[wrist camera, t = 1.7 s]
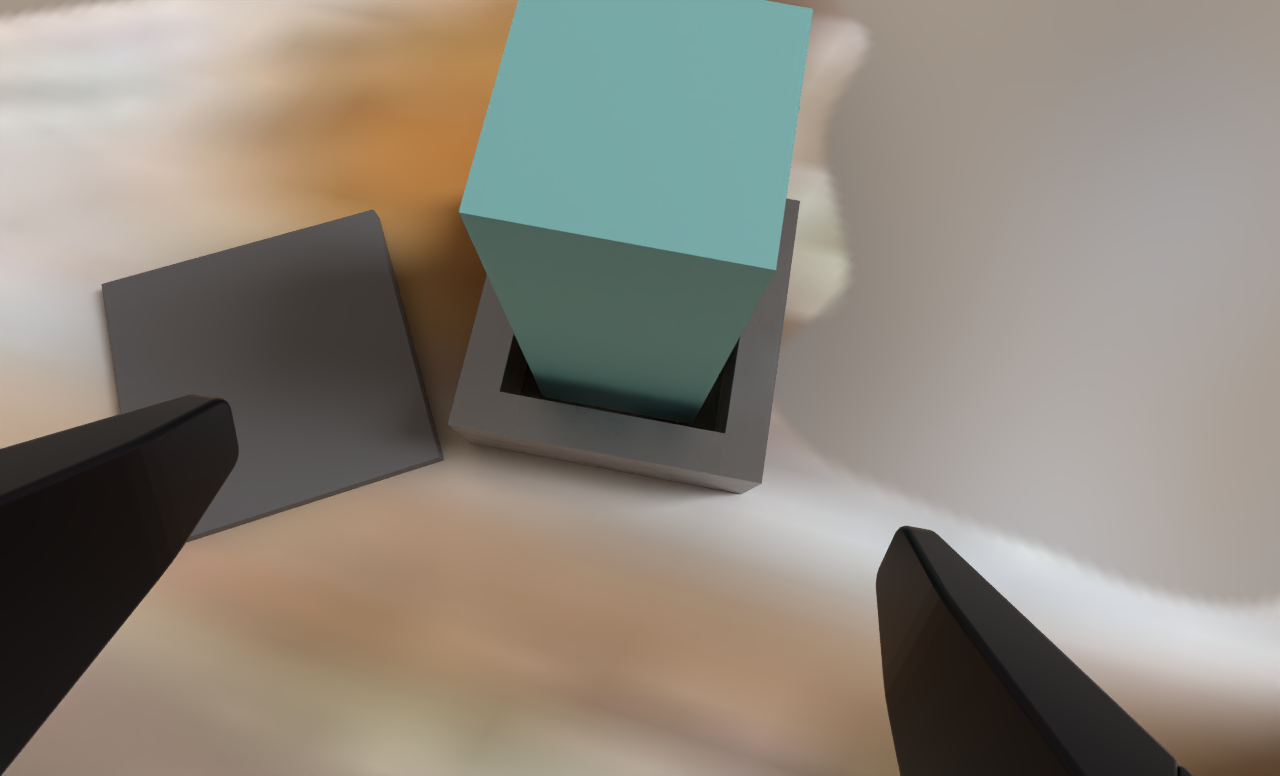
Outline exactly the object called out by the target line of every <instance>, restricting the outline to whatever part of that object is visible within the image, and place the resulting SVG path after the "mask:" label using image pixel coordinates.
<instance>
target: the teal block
mask: <svg viewBox="0 0 1280 776" xmlns="http://www.w3.org/2000/svg"><path fill="white" fill-rule="evenodd" d="M812 13H813V9H810V8H805V7H799V6H793V5H788V4H782V3H776V2H771V1H765V0H518V4H517V7H516V11H515V14H514V18H513V21H512V25H511V28H510V32H509V35H508V39H507V43H506V46H505V50H504V53H503V57H502V60H501V64H500V67H499V71H498V74H497V78H496V82H495V85H494V89H493V92H492V96H491V99H490V103H489V106H488V110H487V113H486V117H485V120H484V124H483V128H482V131H481V135H480V138H479V142H478V145H477V149H476V152H475V156H474V159H473V163H472V166H471V170H470V174H469V177H468V181H467V184H466V188H465V191H464V195H463V198H462V202H461V205H460V209H459V214H460V216H461V219H462V221H463V223H464V225H465V227H466V230H467V232H468V234H469V236H470V238H471V241H472V243H473V245H474V247H475V249H476V251H477V254H478V256H479V258H480V260H481V262H482V265H483V267H484V269H485V271H486V273H487V276H488V278H489V280H490V282H491V284H492V286H493V289H494V291H495V293H496V295H497V297H498V300H499V302H500V304H501V306H502V308H503V311H504V313H505V315H506V317H507V319H508V321H509V324H510V326H511V328H512V330H513V332H514V335H515V337H516V339H517V341H518V343H519V345H520V348H521V350H522V352H523V354H524V356H525V359H526V361H527V363H528V365H529V367H530V370H531V372H532V374H533V376H534V378H535V380H536V383H537V385H538V387H539V389H540V391H541V394H542V396H543V397H547V398H553V399H558V400H563V401H569V402H574V403H579V404H585V405H590V406H596V407H601V408H606V409H612V410H617V411H622V412H628V413H633V414H638V415H644V416H649V417H655V418H660V419H665V420H671V421H676V422H681V423H687V424H692V423H693V421H694V420H695V418H696V416H697V414H698V412H699V410H700V409H701V407H702V405H703V403H704V401H705V399H706V398H707V396H708V394H709V392H710V390H711V388H712V387H713V385H714V383H715V381H716V379H717V377H718V376H719V374H720V372H721V370H722V368H723V366H724V365H725V363H726V361H727V359H728V357H729V355H730V354H731V352H732V350H733V348H734V346H735V344H736V343H737V341H738V339H739V337H740V335H741V333H742V332H743V330H744V328H745V326H746V324H747V322H748V321H749V319H750V317H751V315H752V313H753V311H754V310H755V308H756V306H757V304H758V302H759V300H760V299H761V297H762V295H763V293H764V291H765V289H766V288H767V286H768V284H769V282H770V280H771V278H772V277H773V275H774V273H775V271H776V267H777V260H778V253H779V245H780V238H781V231H782V224H783V217H784V210H785V203H786V196H787V189H788V182H789V175H790V168H791V161H792V154H793V147H794V140H795V133H796V126H797V118H798V111H799V104H800V97H801V90H802V83H803V76H804V69H805V62H806V55H807V48H808V41H809V34H810V27H811V20H812Z"/></svg>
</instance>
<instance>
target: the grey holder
mask: <svg viewBox="0 0 1280 776" xmlns="http://www.w3.org/2000/svg"><path fill="white" fill-rule="evenodd" d="M799 204H800V201H797V200H791V199H786V203H785V210H784V217H783V224H782V231H781V238H780V245H779V253H778V260H777V267H776V271H775V273H774V275H773V277H772V278H771V280H770V282H769V284H768V286H767V288H766V289H765V291H764V293H763V295H762V297H761V299H760V300H759V302H758V304H757V306H756V308H755V310H754V311H753V313H752V315H751V317H750V319H749V321H748V322H747V324H746V326H745V328H744V330H743V332H742V333H741V335H740V337H739V339H738V341H737V343H736V344H735V346H734V348H733V350H732V352H731V354H730V355H729V357H728V359H727V361H726V363H725V365H724V371H723V377H722V384H721V390H720V396H719V403H718V409H717V415H716V422H715V428H714V431H709V430H703V429H698V428H692V427H687V426H682V425H676V424H671V423H665V422H660V421H655V420H649V419H644V418H639V417H633V416H628V415H622V414H617V413H612V412H606V411H601V410H596V409H590V408H585V407H579V406H574V405H569V404H563V403H558V402H553V401H547V400H542V399H536V398H531V397H526V396H520V393H521V388H522V384H523V380H524V376H525V371H526V367H527V361H526V359H525V356H524V354H523V352H522V350H521V348H520V345H519V343H518V341H517V339H516V337H515V335H514V332H513V330H512V328H511V326H510V324H509V321H508V319H507V317H506V315H505V313H504V311H503V308H502V306H501V304H500V302H499V300H498V297H497V295H496V293H495V291H494V289H493V286H492V284H491V282H490V280H489V278H488V276H487V275H486V279H485V283H484V287H483V291H482V294H481V298H480V302H479V306H478V310H477V313H476V317H475V321H474V325H473V329H472V332H471V336H470V340H469V344H468V348H467V351H466V355H465V359H464V363H463V367H462V370H461V374H460V378H459V382H458V386H457V389H456V393H455V397H454V401H453V405H452V408H451V412H450V416H449V420H448V424H447V425H448V426H450V427H451V428H452V429H453V430H455V431H456V432H457V433H458V434H460V435H461V436H462V437H463V438H465V439H466V440H467V441H469V442H470V443H473V444H478V445H484V446H489V447H494V448H500V449H505V450H510V451H516V452H521V453H526V454H532V455H537V456H542V457H548V458H553V459H558V460H564V461H569V462H574V463H580V464H585V465H590V466H596V467H601V468H606V469H612V470H617V471H622V472H628V473H633V474H638V475H644V476H649V477H654V478H660V479H665V480H670V481H676V482H681V483H686V484H692V485H697V486H702V487H708V488H713V489H718V490H724V491H729V492H734V493H740V494H743V493H745V492H747V491H748V490H750V489H752V488H754V487H756V486H758V485H760V484H761V483H762V476H763V469H764V462H765V454H766V447H767V439H768V432H769V425H770V417H771V410H772V403H773V395H774V388H775V381H776V373H777V366H778V358H779V351H780V344H781V336H782V329H783V322H784V314H785V307H786V299H787V292H788V285H789V277H790V270H791V263H792V255H793V248H794V241H795V233H796V226H797V218H798V211H799Z"/></svg>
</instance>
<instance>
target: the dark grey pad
mask: <svg viewBox="0 0 1280 776" xmlns="http://www.w3.org/2000/svg"><path fill="white" fill-rule="evenodd" d="M102 291H103V297H104V304H105V311H106V317H107V324H108V331H109V337H110V344H111V350H112V357H113V364H114V370H115V377H116V384H117V390H118V397H119V404H120V410H121V414H122V413H126V412H129V411H133V410H136V409H140V408H143V407H146V406H150V405H153V404H157V403H160V402H164V401H167V400H171V399H174V398H177V397H181V396H184V395H188V394H195V393H197V394H203V395H209V396H214V397H219V398H223V399H224V400H226V401H227V402H228V403H229V405H230V407H231V410H232V415H233V420H234V425H235V430H236V435H237V440H238V445H239V456H238V460H237V463H236V465H235V467H234V469H233V470H232V472H231V473H230V475H229V476H228V478H227V480H226V481H225V483H224V484H223V486H222V487H221V489H220V490H219V492H218V493H217V495H216V497H215V498H214V500H213V501H212V503H211V504H210V506H209V507H208V509H207V510H206V512H205V514H204V515H203V517H202V518H201V520H200V521H199V523H198V524H197V526H196V527H195V529H194V531H193V532H192V534H191V535H190V537H189V538H188V540H187V541H186V542H189V541H192V540H195V539H198V538H202V537H205V536H208V535H211V534H214V533H217V532H220V531H223V530H227V529H230V528H233V527H236V526H239V525H242V524H245V523H248V522H252V521H255V520H258V519H261V518H264V517H267V516H270V515H273V514H277V513H280V512H283V511H286V510H289V509H292V508H295V507H299V506H302V505H305V504H308V503H311V502H314V501H317V500H320V499H324V498H327V497H330V496H333V495H336V494H339V493H342V492H345V491H349V490H352V489H355V488H358V487H361V486H364V485H367V484H370V483H374V482H377V481H380V480H383V479H386V478H389V477H392V476H395V475H399V474H402V473H405V472H408V471H411V470H414V469H417V468H420V467H424V466H427V465H430V464H433V463H436V462H439V461H442V460H444V459H443V455H442V452H441V448H440V444H439V440H438V437H437V433H436V429H435V425H434V422H433V418H432V414H431V410H430V407H429V403H428V399H427V395H426V391H425V388H424V384H423V380H422V376H421V373H420V369H419V365H418V361H417V358H416V354H415V350H414V346H413V343H412V339H411V335H410V331H409V328H408V324H407V320H406V316H405V313H404V309H403V305H402V301H401V297H400V294H399V290H398V286H397V282H396V279H395V275H394V271H393V267H392V264H391V260H390V256H389V252H388V249H387V245H386V241H385V237H384V234H383V230H382V226H381V222H380V219H379V217H378V215H377V214H376V213H375V211H374V210H370V211H366V212H362V213H359V214H355V215H352V216H348V217H344V218H341V219H337V220H333V221H330V222H326V223H322V224H319V225H315V226H312V227H308V228H304V229H301V230H297V231H293V232H290V233H286V234H282V235H279V236H275V237H271V238H268V239H264V240H261V241H257V242H253V243H250V244H246V245H242V246H239V247H235V248H231V249H228V250H224V251H221V252H217V253H213V254H210V255H206V256H202V257H199V258H195V259H191V260H188V261H184V262H181V263H177V264H173V265H170V266H166V267H162V268H159V269H155V270H151V271H148V272H144V273H141V274H137V275H133V276H130V277H126V278H122V279H119V280H115V281H111V282H108V283H104V284H102Z"/></svg>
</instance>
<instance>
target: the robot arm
mask: <svg viewBox="0 0 1280 776" xmlns="http://www.w3.org/2000/svg"><path fill="white" fill-rule="evenodd" d="M238 456H239V445H238V440H237V435H236V430H235V425H234V420H233V415H232V410H231V407H230V405H229V403H228V402H227V401H226V400H224V399H223V398H219V397H214V396H209V395H203V394H197V393H195V394H188V395H184V396H181V397H177V398H174V399H171V400H167V401H164V402H160V403H157V404H153V405H150V406H146V407H143V408H140V409H136V410H133V411H129V412H126V413H122V414H119V415H116V416H112V417H109V418H105V419H102V420H98V421H95V422H92V423H88V424H85V425H81V426H78V427H74V428H71V429H67V430H64V431H61V432H57V433H54V434H50V435H47V436H43V437H40V438H37V439H33V440H30V441H26V442H23V443H19V444H16V445H13V446H9V447H6V448H2V449H0V776H1V775H2V774H3V773H4V772H5V771H6V769H7V768H8V767H9V766H10V764H11V763H12V762H13V761H14V759H15V758H16V757H17V756H18V754H19V753H20V752H21V751H22V749H23V748H24V747H25V746H26V744H27V743H28V742H29V741H30V739H31V738H32V737H33V736H34V734H35V733H36V732H37V731H38V729H39V728H40V727H41V726H42V724H43V723H44V722H45V721H46V719H47V718H48V717H49V716H50V714H51V713H52V712H53V711H54V709H55V708H56V707H57V706H58V704H59V703H60V702H61V701H62V700H63V698H64V697H65V696H66V695H67V693H68V692H69V691H70V690H71V688H72V687H73V686H74V685H75V683H76V682H77V681H78V680H79V678H80V677H81V676H82V675H83V673H84V672H85V671H86V670H87V668H88V667H89V666H90V665H91V663H92V662H93V661H94V660H95V658H96V657H97V656H98V655H99V653H100V652H101V651H102V650H103V648H104V647H105V646H106V645H107V643H108V642H109V641H110V640H111V638H112V637H113V636H114V635H115V633H116V632H117V631H118V630H119V628H120V627H121V626H122V625H123V624H124V622H125V621H126V620H127V619H128V617H129V616H130V615H131V614H132V612H133V611H134V610H135V609H136V607H137V606H138V605H139V604H140V602H141V601H142V600H143V599H144V597H145V596H146V595H147V594H148V592H149V591H150V590H151V589H152V587H153V586H154V585H155V584H156V582H157V581H158V580H159V579H160V577H161V576H162V575H163V574H164V572H165V571H166V570H167V568H168V567H169V566H170V564H171V563H172V562H173V560H174V559H175V557H176V556H177V555H178V553H179V552H180V550H181V549H182V547H183V546H184V544H185V543H186V541H187V540H188V538H189V537H190V535H191V534H192V532H193V531H194V529H195V527H196V526H197V524H198V523H199V521H200V520H201V518H202V517H203V515H204V514H205V512H206V510H207V509H208V507H209V506H210V504H211V503H212V501H213V500H214V498H215V497H216V495H217V493H218V492H219V490H220V489H221V487H222V486H223V484H224V483H225V481H226V480H227V478H228V476H229V475H230V473H231V472H232V470H233V469H234V467H235V465H236V463H237V460H238ZM876 594H877V607H878V619H879V631H880V644H881V656H882V669H883V680H884V689H885V698H886V703H887V709H888V715H889V720H890V725H891V730H892V736H893V741H894V746H895V751H896V756H897V761H898V766H899V771H900V776H1194V775H1193V774H1192V773H1191V772H1190V771H1188V770H1187V769H1186V768H1185V767H1183V766H1178V764H1177V760H1176V759H1175V758H1174V757H1173V756H1172V755H1171V754H1170V753H1169V752H1168V751H1167V750H1166V749H1165V748H1164V747H1163V746H1162V745H1161V744H1160V743H1158V742H1157V741H1156V740H1155V739H1154V738H1153V737H1152V736H1151V735H1150V734H1149V733H1148V732H1147V731H1146V730H1145V729H1144V728H1143V727H1141V726H1140V725H1139V724H1138V723H1137V722H1136V721H1135V720H1134V719H1133V718H1132V717H1131V716H1130V715H1129V714H1128V713H1127V712H1126V711H1124V710H1123V709H1122V708H1121V707H1120V706H1119V705H1118V704H1117V703H1116V702H1115V701H1114V700H1113V699H1112V698H1111V697H1110V696H1109V695H1108V694H1106V693H1105V692H1104V691H1103V690H1102V689H1101V688H1100V687H1099V686H1098V685H1097V684H1096V683H1095V682H1094V681H1093V680H1092V679H1091V678H1089V677H1088V676H1087V675H1086V674H1085V673H1084V672H1083V671H1082V670H1081V669H1080V668H1079V667H1078V666H1077V665H1076V664H1075V663H1074V662H1072V661H1071V660H1070V659H1069V658H1068V657H1067V656H1066V655H1065V654H1064V653H1063V652H1062V651H1061V650H1060V649H1059V648H1058V647H1057V646H1055V645H1054V644H1053V643H1052V642H1051V641H1050V640H1049V639H1048V638H1047V637H1046V636H1045V635H1044V634H1043V633H1042V632H1041V631H1040V630H1038V629H1037V628H1036V627H1035V626H1034V625H1033V624H1032V623H1031V622H1030V621H1029V620H1028V619H1027V618H1026V617H1025V616H1024V615H1023V614H1021V613H1020V612H1019V611H1018V610H1017V609H1016V608H1015V607H1014V606H1013V605H1012V604H1011V603H1010V602H1009V601H1008V600H1007V599H1006V598H1004V597H1003V596H1002V595H1001V594H1000V593H999V592H998V591H997V590H996V589H995V588H994V587H993V586H992V585H991V584H990V583H989V582H988V581H986V580H985V579H984V578H983V577H982V576H981V575H980V574H979V573H978V572H977V571H976V570H975V569H974V568H973V567H972V566H971V565H969V564H968V563H967V562H966V561H965V560H964V559H963V558H962V557H961V556H960V555H959V554H958V553H957V552H956V551H955V550H954V549H952V548H951V547H950V546H949V545H948V544H947V543H946V542H945V541H944V540H943V539H942V538H941V537H940V536H939V535H937V534H936V533H935V532H933V531H931V530H927V529H922V528H916V527H911V526H903V527H900V528H899V529H898V530H897V532H896V533H895V535H894V537H893V539H892V541H891V543H890V546H889V548H888V550H887V552H886V554H885V556H884V558H883V561H882V563H881V565H880V567H879V570H878V573H877V578H876Z"/></svg>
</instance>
